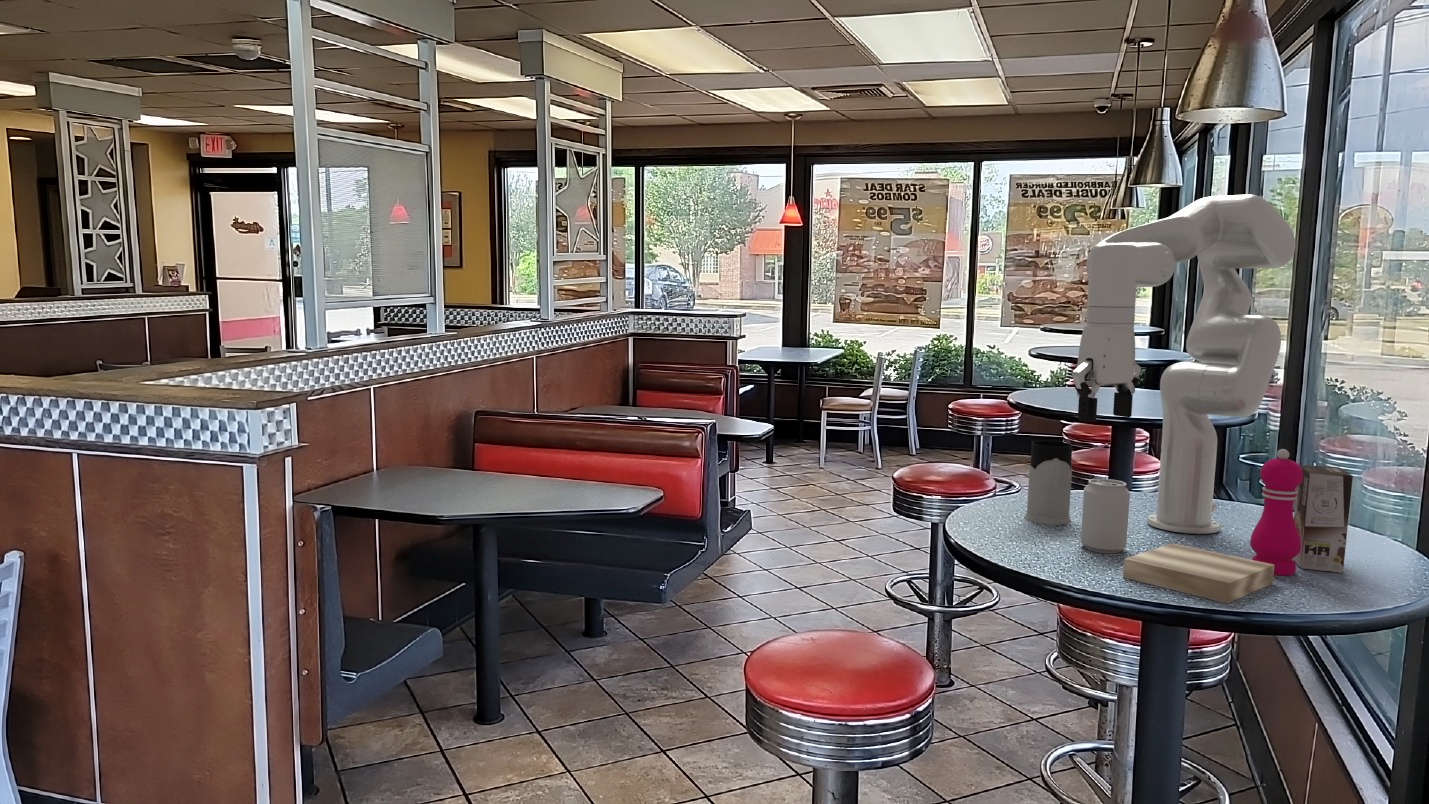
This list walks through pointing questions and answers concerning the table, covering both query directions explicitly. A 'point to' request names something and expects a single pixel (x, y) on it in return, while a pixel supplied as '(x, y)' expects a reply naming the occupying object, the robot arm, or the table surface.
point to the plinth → (1199, 572)
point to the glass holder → (1049, 483)
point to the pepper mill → (1278, 515)
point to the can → (1105, 515)
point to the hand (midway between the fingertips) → (1104, 418)
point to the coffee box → (1322, 517)
